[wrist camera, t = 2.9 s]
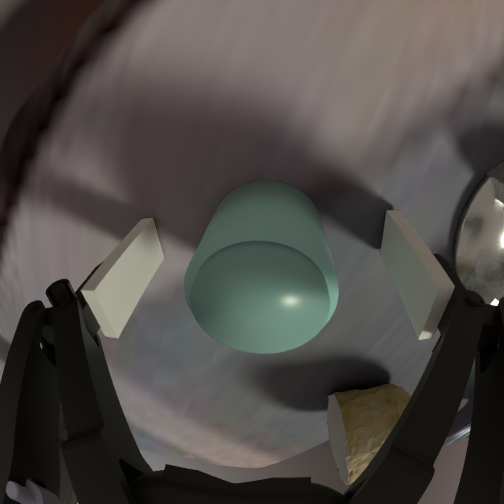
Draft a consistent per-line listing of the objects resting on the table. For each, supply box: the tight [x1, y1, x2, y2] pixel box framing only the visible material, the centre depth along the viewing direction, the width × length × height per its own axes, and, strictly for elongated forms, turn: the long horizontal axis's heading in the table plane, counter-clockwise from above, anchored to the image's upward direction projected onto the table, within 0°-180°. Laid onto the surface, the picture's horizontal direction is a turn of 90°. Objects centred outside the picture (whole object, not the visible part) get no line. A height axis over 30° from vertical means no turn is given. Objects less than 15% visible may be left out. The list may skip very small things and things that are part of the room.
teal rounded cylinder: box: [184, 180, 339, 354], centre depth 13 cm, size 6×6×6 cm
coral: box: [327, 384, 411, 485], centre depth 20 cm, size 10×10×10 cm
